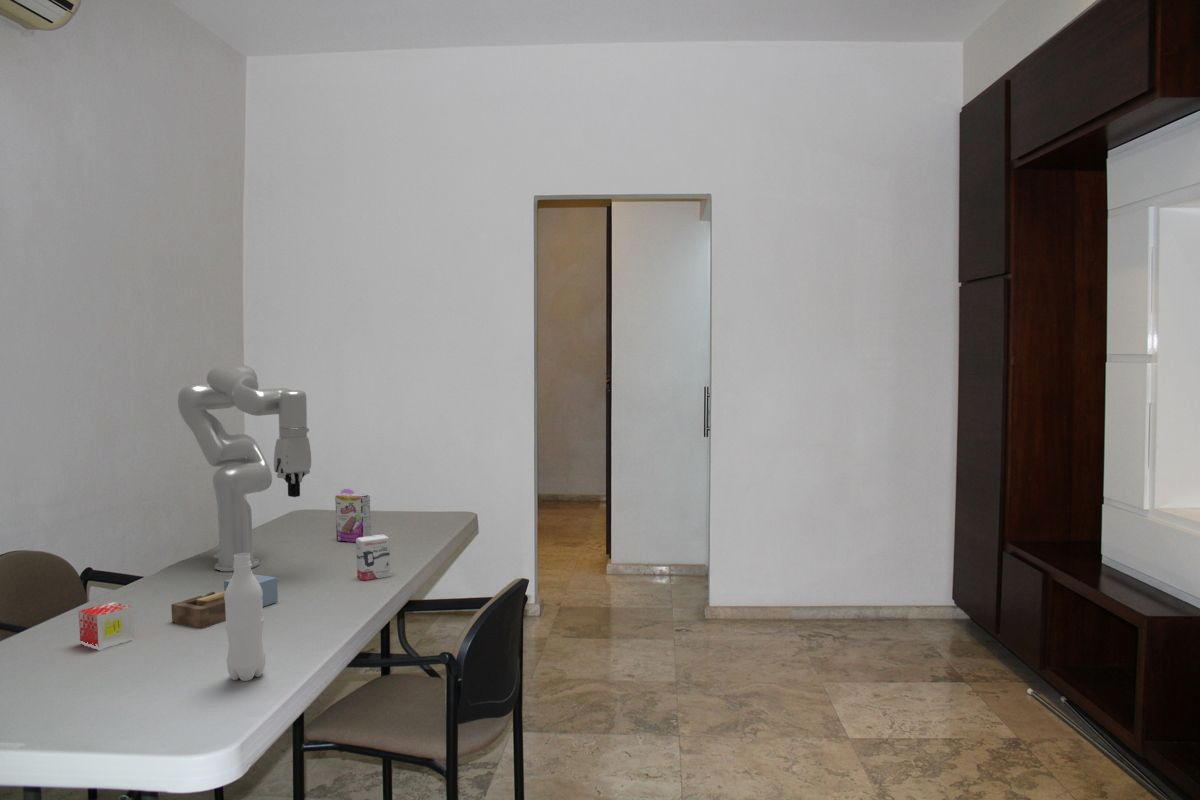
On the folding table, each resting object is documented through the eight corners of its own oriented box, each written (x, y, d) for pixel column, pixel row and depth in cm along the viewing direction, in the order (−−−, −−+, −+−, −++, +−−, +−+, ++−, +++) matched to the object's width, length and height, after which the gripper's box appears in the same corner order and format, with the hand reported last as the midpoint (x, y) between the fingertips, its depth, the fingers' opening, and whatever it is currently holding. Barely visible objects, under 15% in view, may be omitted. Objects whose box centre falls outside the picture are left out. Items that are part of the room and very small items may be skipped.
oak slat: (197, 619, 211) (196, 599, 211) (251, 602, 225) (250, 583, 225) (207, 621, 209) (206, 601, 209) (261, 604, 223) (261, 585, 223)
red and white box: (98, 651, 189) (97, 616, 188) (80, 645, 193) (78, 610, 193) (134, 640, 196) (132, 606, 195) (115, 635, 200) (114, 601, 199)
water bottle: (234, 671, 175) (229, 551, 174) (270, 669, 176) (265, 549, 174) (222, 684, 168) (216, 559, 167) (259, 682, 168) (254, 558, 167)
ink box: (362, 581, 243) (360, 540, 243) (356, 577, 247) (355, 537, 247) (391, 576, 248) (389, 536, 247) (385, 573, 252) (384, 533, 251)
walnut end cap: (170, 622, 208) (169, 604, 208) (213, 608, 219) (212, 591, 219) (203, 628, 203) (203, 610, 203) (245, 614, 214) (244, 596, 213)
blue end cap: (224, 605, 221) (223, 580, 221) (250, 597, 228) (249, 573, 228) (252, 610, 217) (251, 585, 216) (277, 601, 224) (276, 577, 223)
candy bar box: (335, 542, 296) (334, 495, 295) (344, 539, 300) (343, 493, 299) (363, 543, 292) (361, 496, 291) (371, 540, 297) (370, 494, 296)
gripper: (304, 430, 253) (305, 491, 254) (262, 434, 240) (263, 499, 241) (322, 431, 249) (323, 493, 251) (280, 436, 236) (281, 501, 238)
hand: (294, 496), depth 246 cm, fingers closed
